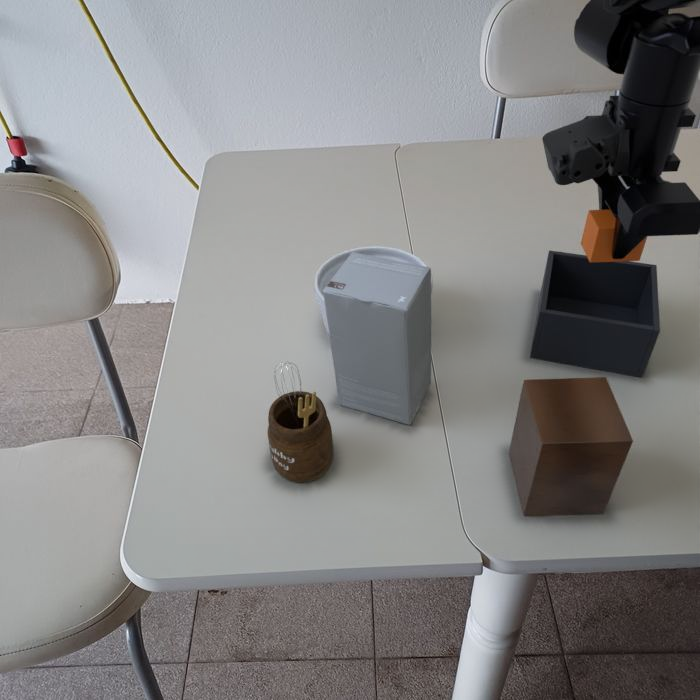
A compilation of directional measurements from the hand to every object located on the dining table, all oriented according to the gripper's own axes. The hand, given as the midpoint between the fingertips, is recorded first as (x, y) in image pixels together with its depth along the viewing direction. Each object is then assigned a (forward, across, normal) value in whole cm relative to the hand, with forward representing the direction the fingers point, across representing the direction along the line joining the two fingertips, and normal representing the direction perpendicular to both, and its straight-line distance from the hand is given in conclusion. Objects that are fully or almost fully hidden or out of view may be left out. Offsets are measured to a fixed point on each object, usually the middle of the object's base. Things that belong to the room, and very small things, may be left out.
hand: (611, 247), depth 66 cm
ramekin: (+12, -3, -24) cm, 27 cm away
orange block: (+1, 0, 0) cm, 1 cm away
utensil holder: (+12, +17, -32) cm, 38 cm away
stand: (+12, +20, -9) cm, 25 cm away
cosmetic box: (+12, +9, -24) cm, 28 cm away
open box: (+12, 0, 0) cm, 12 cm away
